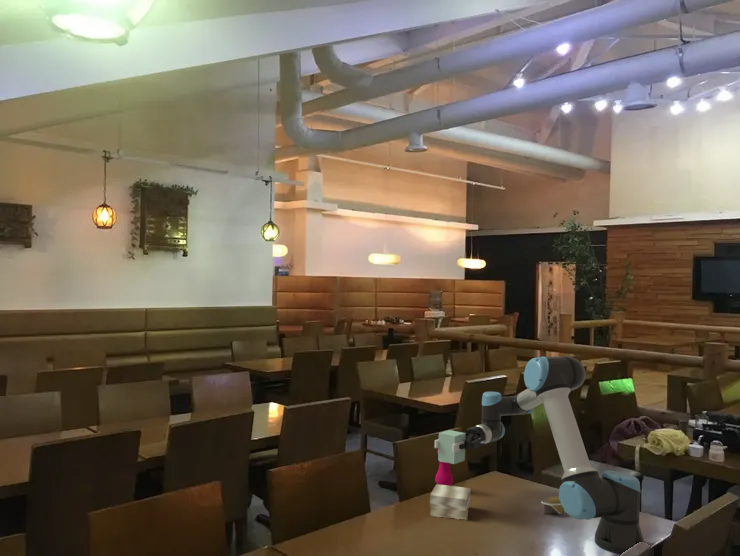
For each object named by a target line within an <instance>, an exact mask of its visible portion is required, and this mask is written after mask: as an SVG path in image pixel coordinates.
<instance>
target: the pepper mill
mask: <svg viewBox="0 0 740 556" xmlns="http://www.w3.org/2000/svg"><path fill="white" fill-rule="evenodd" d="M437 453H438V450H437ZM438 462H439V466H438V470H437V472H436V474H435V479H434V481H435V483H436V484H439V485H448V486H453V485H452V484H453V483H454V476H453V473H452V472H451V467H450V465H451V463H447V462H443V461H439V460H438Z"/></svg>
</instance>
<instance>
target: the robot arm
mask: <svg viewBox="0 0 740 556" xmlns="http://www.w3.org/2000/svg"><path fill="white" fill-rule="evenodd" d="M586 375H587V374H586V369H585V367H584V364H583V363H582V362H581V361H580V360H578V359H576V358H575V357H572V356H569V355H568V356H567V355H565V356H564V355H563V356H540V357H538V356H537V357H533V358H531V359H530V360H528V361H527V363H526V366H525V369H524V372H523V381H524V385H525V387H526V388H527V389H525V390H523V391H521V392H520V393H517V394H516V395H511V396H502V394H501V393H500V392H497V391H485V392H483V393H482V397H481V424H477V425H475V426H472V427H468V428H466V431H465V432H464V433H465V443H464V441H461V442H458V443H455V444H452V452H456V451H459V450H462V449H465V450H468V449H469V450H471V451H473V450H475V449H478V448H479V447H483V446H485V445H486V444H489V443H493V442H497V441H498V440H501V438H503V437H504V436H505V432H506V428H505V426H504V424H503V422H502V421H501V418H502V416H516V415H517V416H518V415H519V416H520V415H521V416H523V415H528V414H532V412H533V410H534V409H535V408H536V407H537V406H540V405H542V404H543V407H544V410H545V413H546V417H547V420H548V423H549V426H550V430H551V433H552V436H553V439H554V442H555V446H556V450H557V451H558V452H557V453H558V455H559V459H560V462H561V465H562V468H563V472H564V473H563V475H562V476H561V481H562V483H561V485H560V486H559V492H558V497H559V499H560V502H561V504H562V507H563V508H564V511H565V513H567V515H569V516H570V517H571V518H573V519H575V520H579V521H581V520H582V521H583V520H588V521H589V520H593V519H597V518H600V520H599V522H598V524H597V528H596V530H595V533H594V543H595V544H596V545H597V546H598V547H599V548H601V549H604V550H606V551H608V552H612V553H616V554H621V553H623V552H625V551H626V550H628V549H629V548H631V547H633V546H634V545H635V544H637V543H639V542H645V539H644V536H643V532H642V528H641V526H640V513H641V512H640V510H641V508H640V507H641V505H640V504H641V492H642V491H641V483H640V481H639V478H637V477H636V476H634V475H631V474H628V473H625V472H622V471H621V472H620V471H616V470H603V471H602V472H601V474H600V475H601V477H600V475H599V470H597V469H596V468H594V467H592V466H591V463H590V460H589V457H588V453H587V451H586V448H585V444H584V441H583V438H582V435H581V432H580V429H579V426H578V422H577V420H576V417H575V414H574V411H573V407H572V405H571V402H570V398H569V394H570V393H571V392H573V391H574V390H577V389H579V388H580V387H582V385H583V384H584V382H585V380H586ZM438 447H439V438H438V439H434V447H433V448H434V449H438ZM621 555H622V554H621Z"/></svg>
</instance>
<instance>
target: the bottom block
mask: <svg viewBox="0 0 740 556" xmlns="http://www.w3.org/2000/svg"><path fill="white" fill-rule="evenodd" d="M469 508H470V503H469V504H468V507H467V509H466V511H463V510H455V509H448V508H440V507H432V506H430V510H429V511H430V516H432V517H433V518H439V517H444V518H443V519H449V518H455V519H454V520H459V519H465V520H464V521H468V516H469V510H468V509H469ZM432 517H431V518H432Z"/></svg>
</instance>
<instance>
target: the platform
mask: <svg viewBox="0 0 740 556" xmlns="http://www.w3.org/2000/svg"><path fill="white" fill-rule="evenodd" d="M547 497H548V498H547V499H545V500H541V501H540V502H541V504H542V505H543V507H544V510H543V513H544V515H553V514H552V513H556V514H559V515H560V514H562V515H563V514H564V513H565V512H564V511H565V510H564V508H563V507H562V504H561V502H560V499H559V496H553V498H552V496H547ZM550 513H551V514H550Z"/></svg>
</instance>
